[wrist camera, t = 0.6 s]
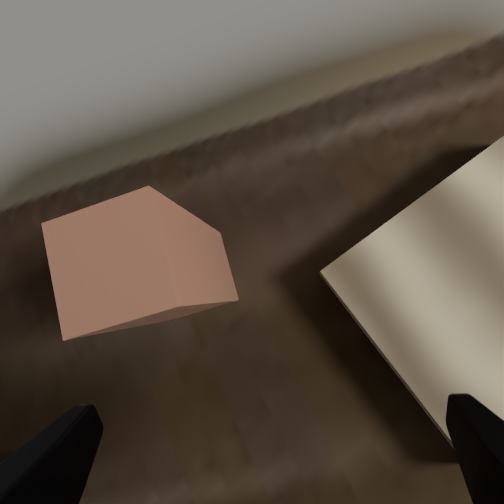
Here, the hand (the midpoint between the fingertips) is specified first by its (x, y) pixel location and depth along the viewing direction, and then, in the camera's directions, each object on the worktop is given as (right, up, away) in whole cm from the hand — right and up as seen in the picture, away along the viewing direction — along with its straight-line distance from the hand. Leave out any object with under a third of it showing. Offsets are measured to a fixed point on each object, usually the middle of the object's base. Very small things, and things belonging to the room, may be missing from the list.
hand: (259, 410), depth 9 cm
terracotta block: (-4, +2, +16) cm, 17 cm away
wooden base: (+14, +1, +12) cm, 19 cm away
